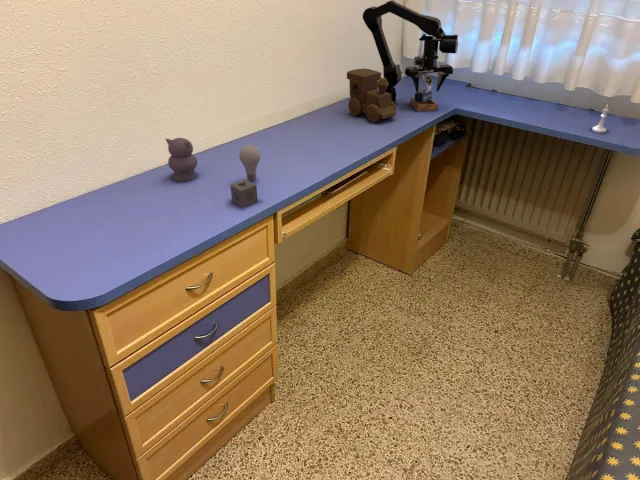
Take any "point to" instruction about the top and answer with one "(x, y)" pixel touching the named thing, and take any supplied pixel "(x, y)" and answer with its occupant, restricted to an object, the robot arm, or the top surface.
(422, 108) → the tray
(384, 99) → the wooden toy train
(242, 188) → the dark grey engraved cube
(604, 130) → the chess piece
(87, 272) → the top surface
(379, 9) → the robot arm
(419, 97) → the watch
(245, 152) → the lightbulb
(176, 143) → the cat figurine
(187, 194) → the top surface
